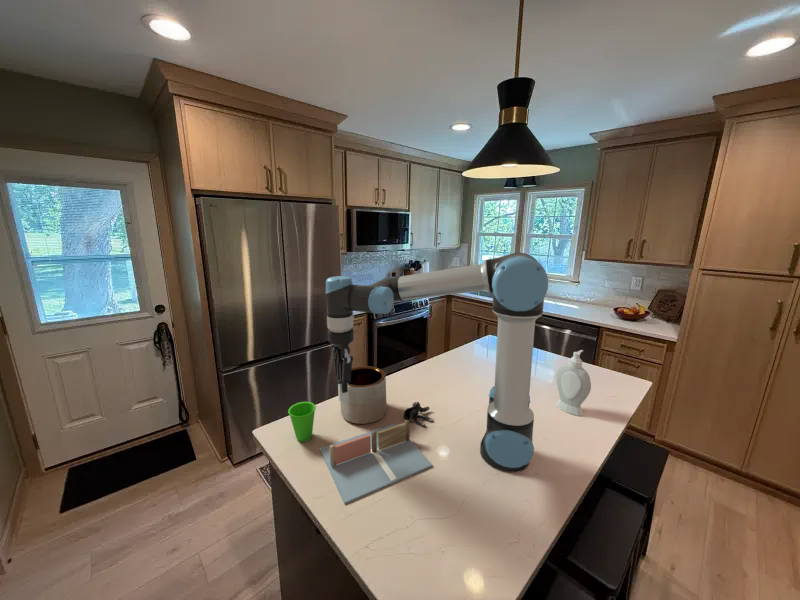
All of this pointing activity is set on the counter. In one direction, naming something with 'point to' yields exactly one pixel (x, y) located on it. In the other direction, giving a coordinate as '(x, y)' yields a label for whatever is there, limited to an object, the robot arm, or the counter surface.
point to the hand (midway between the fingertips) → (343, 399)
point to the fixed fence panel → (390, 436)
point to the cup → (302, 419)
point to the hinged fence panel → (349, 450)
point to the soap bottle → (573, 385)
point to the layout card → (375, 467)
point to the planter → (365, 395)
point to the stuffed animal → (416, 414)
